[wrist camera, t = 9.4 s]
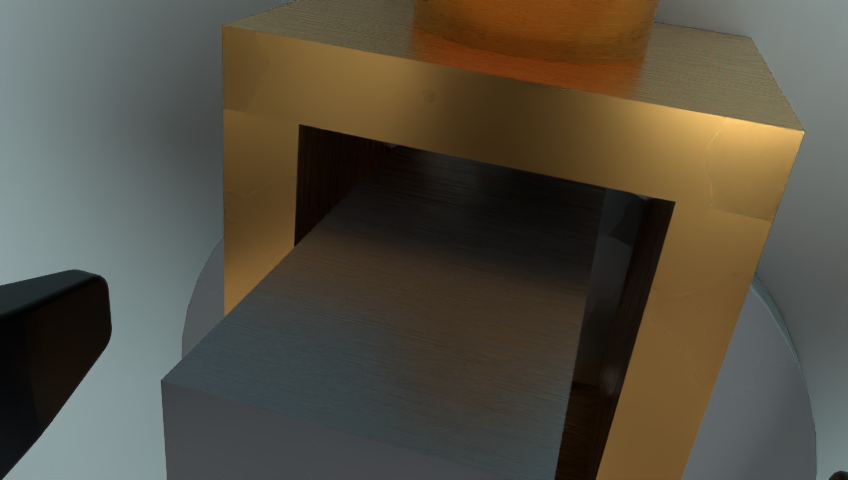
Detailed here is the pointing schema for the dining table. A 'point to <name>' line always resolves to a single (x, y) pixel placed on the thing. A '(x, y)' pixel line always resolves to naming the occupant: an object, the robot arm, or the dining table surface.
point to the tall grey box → (400, 335)
